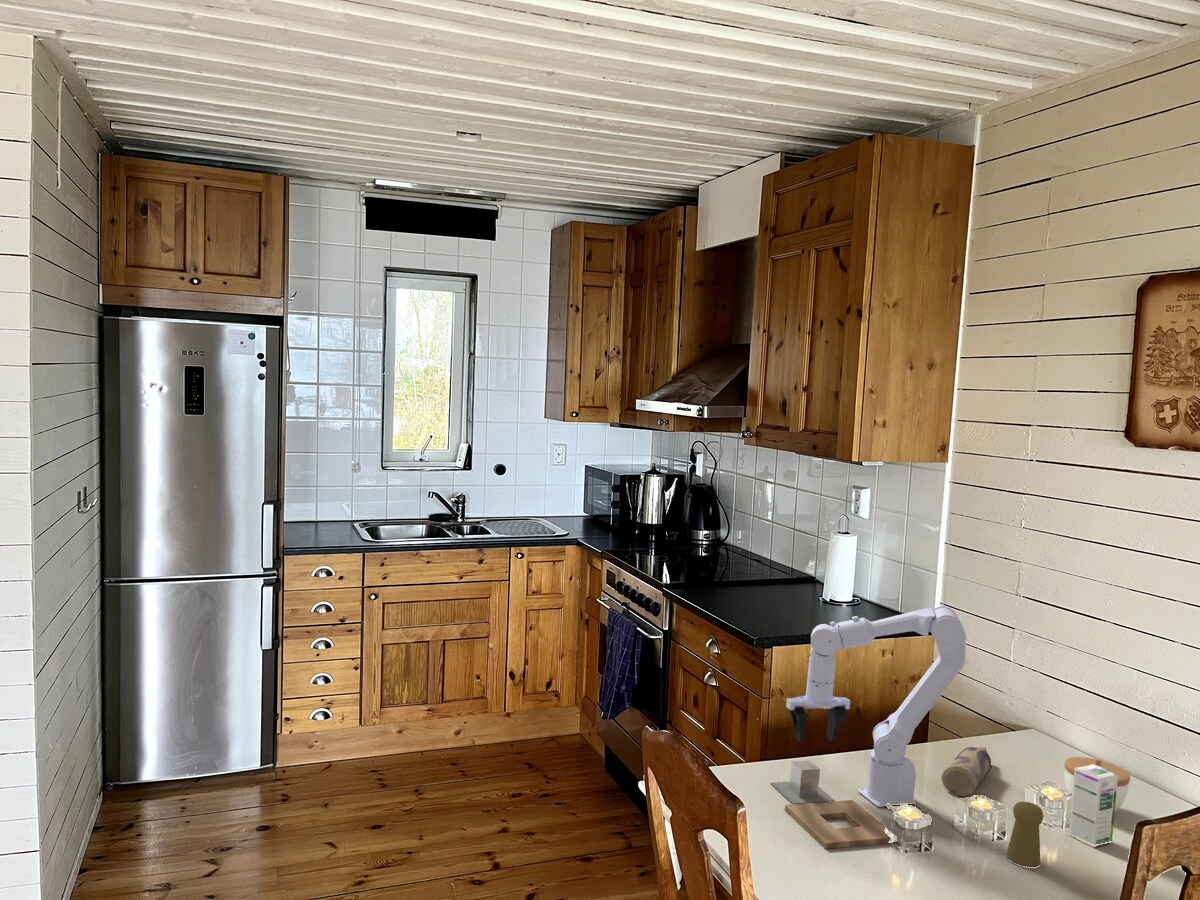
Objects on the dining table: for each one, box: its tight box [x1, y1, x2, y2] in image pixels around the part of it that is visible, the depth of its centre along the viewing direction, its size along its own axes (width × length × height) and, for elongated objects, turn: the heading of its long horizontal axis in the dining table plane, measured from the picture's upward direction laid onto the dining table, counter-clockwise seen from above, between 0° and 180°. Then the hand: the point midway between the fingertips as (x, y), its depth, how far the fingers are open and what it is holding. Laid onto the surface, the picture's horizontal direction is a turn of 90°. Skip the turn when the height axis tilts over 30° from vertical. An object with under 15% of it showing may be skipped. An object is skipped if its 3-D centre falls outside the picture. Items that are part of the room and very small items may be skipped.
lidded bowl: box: [1063, 756, 1131, 811], centre depth 198 cm, size 13×13×11 cm
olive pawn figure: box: [1005, 801, 1044, 867], centre depth 172 cm, size 6×6×11 cm
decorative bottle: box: [940, 746, 993, 796], centre depth 211 cm, size 26×8×7 cm, turn 144°
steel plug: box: [789, 760, 821, 797], centre depth 195 cm, size 4×4×6 cm
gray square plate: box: [770, 781, 836, 804], centre depth 196 cm, size 10×10×1 cm
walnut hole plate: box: [784, 799, 890, 850], centre depth 181 cm, size 16×16×1 cm
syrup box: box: [1068, 764, 1118, 845], centre depth 183 cm, size 6×6×14 cm
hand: (814, 740), depth 199 cm, fingers open, 7 cm apart
